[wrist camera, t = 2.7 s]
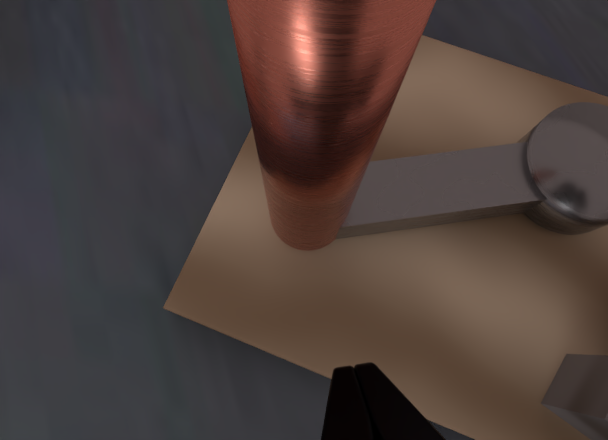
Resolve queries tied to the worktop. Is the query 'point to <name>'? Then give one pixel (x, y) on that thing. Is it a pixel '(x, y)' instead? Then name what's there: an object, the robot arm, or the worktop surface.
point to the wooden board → (427, 275)
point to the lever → (369, 125)
